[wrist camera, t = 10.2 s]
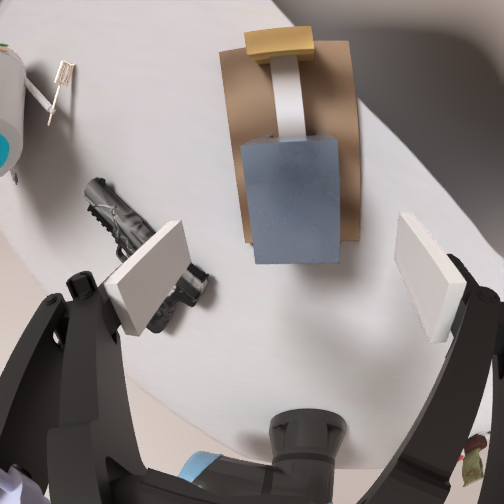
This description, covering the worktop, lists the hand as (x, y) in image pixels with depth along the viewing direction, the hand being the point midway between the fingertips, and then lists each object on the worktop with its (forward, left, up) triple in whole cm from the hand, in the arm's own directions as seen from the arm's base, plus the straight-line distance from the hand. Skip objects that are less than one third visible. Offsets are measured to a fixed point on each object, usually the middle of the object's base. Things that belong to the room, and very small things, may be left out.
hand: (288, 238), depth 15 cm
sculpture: (-72, -52, -14) cm, 90 cm away
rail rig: (+4, 0, -14) cm, 15 cm away
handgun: (-8, +22, -15) cm, 28 cm away
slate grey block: (0, 0, -13) cm, 13 cm away
